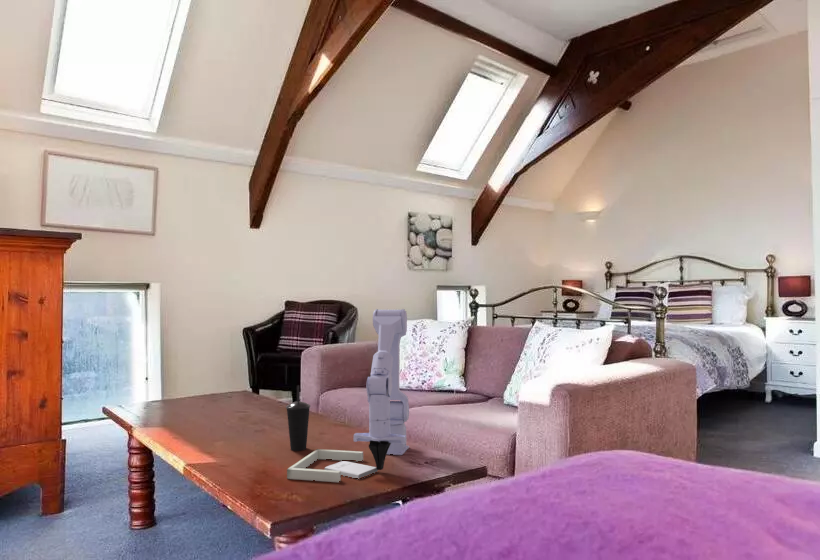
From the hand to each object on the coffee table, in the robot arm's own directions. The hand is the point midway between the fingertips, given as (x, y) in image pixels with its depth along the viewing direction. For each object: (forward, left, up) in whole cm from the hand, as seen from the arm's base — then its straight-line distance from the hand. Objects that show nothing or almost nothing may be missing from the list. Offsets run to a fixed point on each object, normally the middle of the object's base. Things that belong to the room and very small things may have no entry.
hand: (380, 468), depth 163 cm
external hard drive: (+1, -8, -2) cm, 8 cm away
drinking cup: (-18, -32, -1) cm, 37 cm away
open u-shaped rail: (0, -15, -1) cm, 15 cm away
